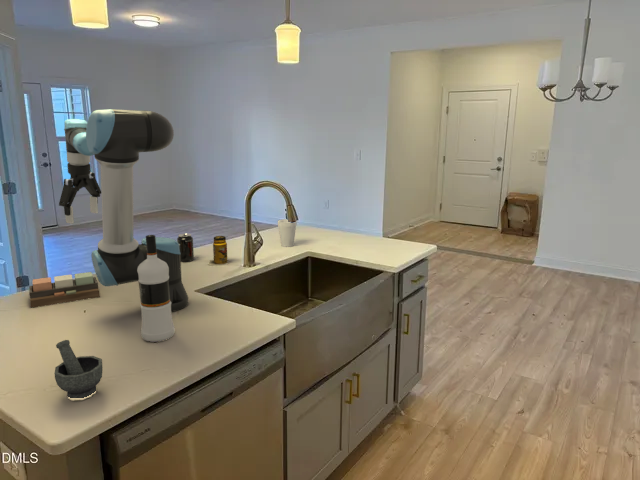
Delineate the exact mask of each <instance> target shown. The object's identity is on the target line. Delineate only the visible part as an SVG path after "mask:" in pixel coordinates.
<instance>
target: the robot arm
mask: <svg viewBox="0 0 640 480" xmlns="http://www.w3.org/2000/svg"><path fill="white" fill-rule="evenodd" d="M63 130H64V135H65V138H64V139H65V151H66V161H67V166H66V167H67V173H68V174H69V175H70V177H69V178H64V179H63V187H62V191H61V195H60V199H59V201H58V206H60V207H63V208H64V210H63V211H64V216H65V222H66V223H67V224H70V225H74V223H75V220H74V219H75V218H74V208H73V206H72V204H73V203H74V199H75V198H76V195H77V193H78V192H79V191H80V190H81V189H83V188H85V190H87V192H88V193H89V194H90V196H89V208H90V213H92V214H98V213H99V207H98V206H99V205H98V204H99V199H98V198H99V197H101V215H102V216H101V217H102V239H101V240H99V241H98V242H97V249H95V250H93V251H91V255H90V256H91V262H92V266H93V270H94V272H95V275H96V279H97V281H99V283H100V285H102V286H103V287H113V286H114V287H115V286H116V287H117V286H119V285H124V284H129V283H130V284H131V283H135V282H139V281H138V280H139V279H138V272H137V268H138V266H139V265H140V264H141V263H142V262H143V261H144V260H146V259H147V247H146V237H143V238H142V240H141V243H139V241H138V240H137V239H135V238H134V166H135V164H136V163H138V162H139V160H140V153H148V152H149V153H151V152H152V153H153V152H157V151H161V150H164V149H166V148H167V147H169V146H170V145H171V143H172V142H173V139H174V135H175V134H174V127H173V125H172V124H171V122H170V120H169V119H168V118H166V117H165V116H164V115H162V114H160V113H158V112H156V111H153V110H134V109H133V110H132V109H111V108H107V109H95V110H94V111H92V112H91V113H90V114H89V116H88V119H87V120H85V119H78V118H67V119H66V120H64V129H63ZM92 156H94V159H95V161H97V162H98V163H99V164H100V180H101V181H100V184H101V186H100V185H99V183H98V181H97V179H96V173H95V172H92V171H91V170H92V168H91V167H92V166H91V164H90V163H91V157H92ZM155 237H156V250H157V258H159V259H161V260H162V261H164V262H166V263H167V265H168V267H169V291H170V301H171V313H173V312H176V311H179V310H182V309H185V308H186V307H187V306H188V305H189V303H190V301H189V296H188V293H187V290H186V288H185V286H184V284H183V280H182V279H183V278H182V264H181V263H182V261H181V260H180V254H181V253H180V249H179V243H178V242H177V239H176V240H175V239H174V238H170V237H169V238H168V237H161V236H159V237H158V236H155Z"/></svg>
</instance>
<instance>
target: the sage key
mask: <svg viewBox="0 0 640 480" xmlns="http://www.w3.org/2000/svg"><path fill="white" fill-rule="evenodd" d="M93 277H94V276H93V273H92V271H88V272H81V273H80V272H79V273H75V274H74V280H75V282H76V286H78V285H85V284H92V283H94V282H93Z"/></svg>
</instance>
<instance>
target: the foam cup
mask: <svg viewBox="0 0 640 480" xmlns="http://www.w3.org/2000/svg"><path fill="white" fill-rule="evenodd" d="M287 219H288V218H284V219H279V220H277V226H278V232H279V233H278V234H279V240H280V246H281V247H283V248H291V247H294V245H295V239H296V238H295V237H296V230H297V221H296V222H295V223H290V222H288V220H287Z"/></svg>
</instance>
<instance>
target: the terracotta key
mask: <svg viewBox="0 0 640 480" xmlns="http://www.w3.org/2000/svg"><path fill="white" fill-rule="evenodd" d="M52 283H53V281H52V277H49V276H48V277H43V278H42V277H41V278H36V279H35V278H33V279H32V286H33V291H34V292H36V291H43V290H50V289H52Z"/></svg>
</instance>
